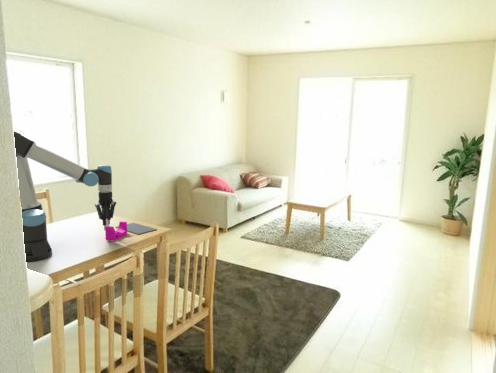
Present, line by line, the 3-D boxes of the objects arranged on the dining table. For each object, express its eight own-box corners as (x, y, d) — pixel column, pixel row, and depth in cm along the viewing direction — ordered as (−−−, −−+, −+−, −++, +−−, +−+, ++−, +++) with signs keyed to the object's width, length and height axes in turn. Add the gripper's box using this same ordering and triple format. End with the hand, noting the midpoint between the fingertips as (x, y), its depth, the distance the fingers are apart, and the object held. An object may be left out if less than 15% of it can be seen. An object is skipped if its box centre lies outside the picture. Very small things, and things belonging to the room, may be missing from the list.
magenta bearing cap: (114, 240, 209) (114, 228, 208) (105, 239, 211) (105, 227, 210) (130, 233, 224) (130, 222, 222) (122, 232, 225) (121, 221, 224)
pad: (138, 234, 221) (138, 233, 221) (115, 227, 236) (115, 226, 236) (156, 230, 232) (156, 229, 232) (133, 223, 247) (133, 222, 247)
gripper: (98, 193, 206) (99, 233, 210) (118, 191, 217) (119, 229, 220) (91, 191, 211) (92, 231, 214) (111, 189, 221) (112, 227, 225)
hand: (106, 230), depth 217 cm, fingers closed
